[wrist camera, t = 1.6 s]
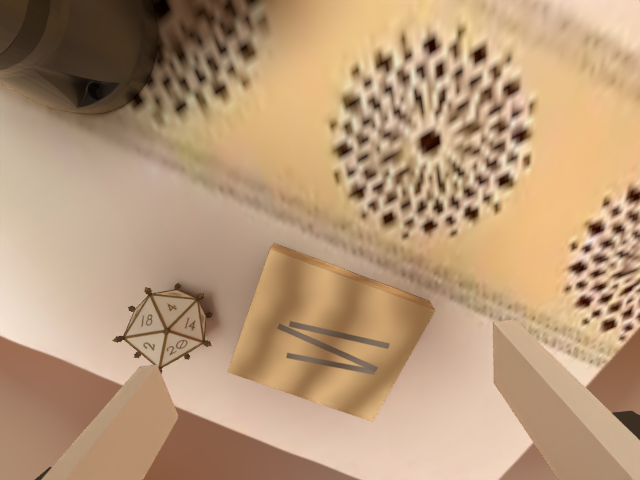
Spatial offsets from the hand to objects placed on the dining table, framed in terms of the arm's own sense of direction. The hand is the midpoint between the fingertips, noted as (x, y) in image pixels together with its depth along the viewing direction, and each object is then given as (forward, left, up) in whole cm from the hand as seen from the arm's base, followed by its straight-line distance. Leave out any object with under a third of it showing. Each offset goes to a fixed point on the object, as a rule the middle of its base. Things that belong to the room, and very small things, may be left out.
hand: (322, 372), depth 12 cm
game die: (-12, -14, -21) cm, 28 cm away
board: (+4, -11, -20) cm, 24 cm away
